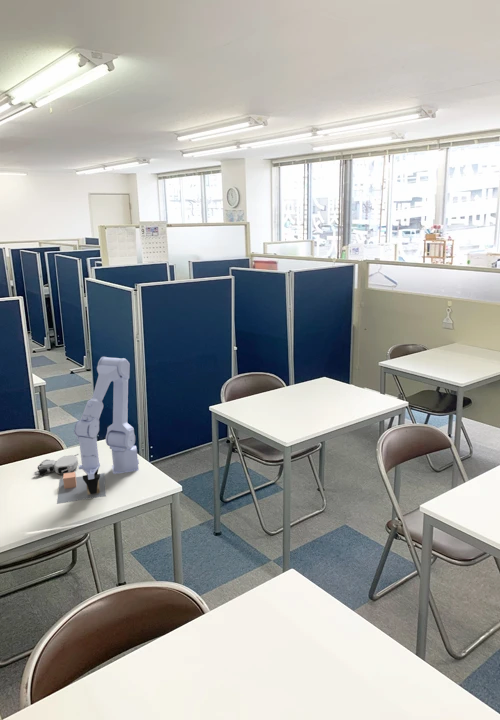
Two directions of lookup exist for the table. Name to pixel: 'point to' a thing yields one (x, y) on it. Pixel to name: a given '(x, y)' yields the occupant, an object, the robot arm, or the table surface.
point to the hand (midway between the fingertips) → (93, 488)
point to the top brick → (97, 488)
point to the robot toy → (58, 465)
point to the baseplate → (79, 490)
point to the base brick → (69, 480)
